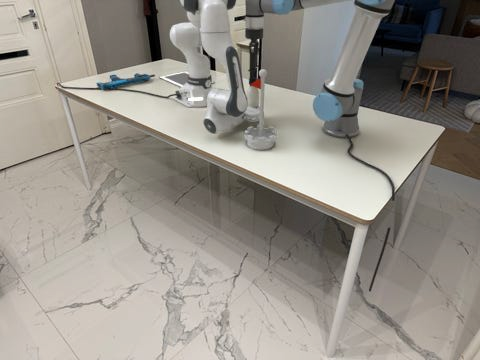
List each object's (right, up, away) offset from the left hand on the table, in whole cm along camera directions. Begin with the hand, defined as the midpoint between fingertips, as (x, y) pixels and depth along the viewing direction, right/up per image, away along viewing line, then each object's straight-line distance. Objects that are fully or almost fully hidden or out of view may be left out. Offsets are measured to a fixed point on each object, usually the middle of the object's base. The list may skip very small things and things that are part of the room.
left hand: (253, 106), depth 158 cm
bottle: (0, -5, +3) cm, 6 cm away
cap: (-1, +10, -8) cm, 13 cm away
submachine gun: (-78, +26, +52) cm, 97 cm away
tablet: (-40, +28, +54) cm, 73 cm away
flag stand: (+2, -19, -19) cm, 27 cm away
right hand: (-1, +9, -6) cm, 11 cm away
